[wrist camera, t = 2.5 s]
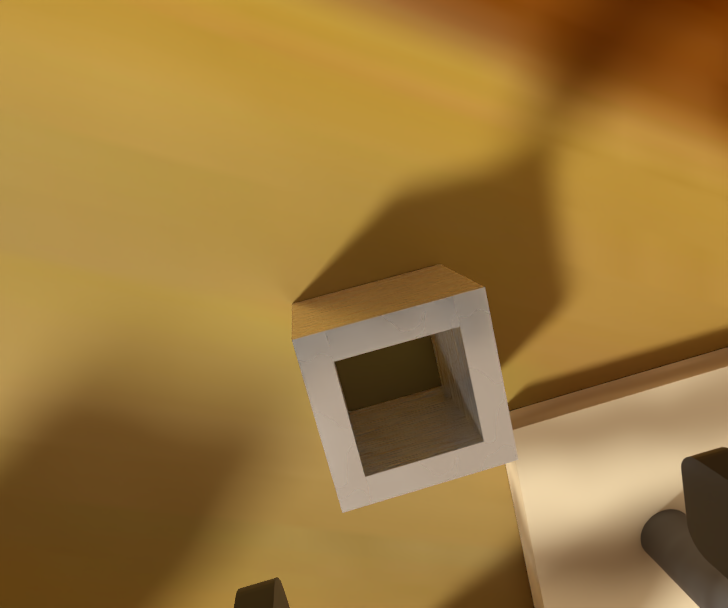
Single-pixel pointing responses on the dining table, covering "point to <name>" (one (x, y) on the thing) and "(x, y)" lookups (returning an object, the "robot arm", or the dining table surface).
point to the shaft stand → (619, 489)
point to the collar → (412, 412)
